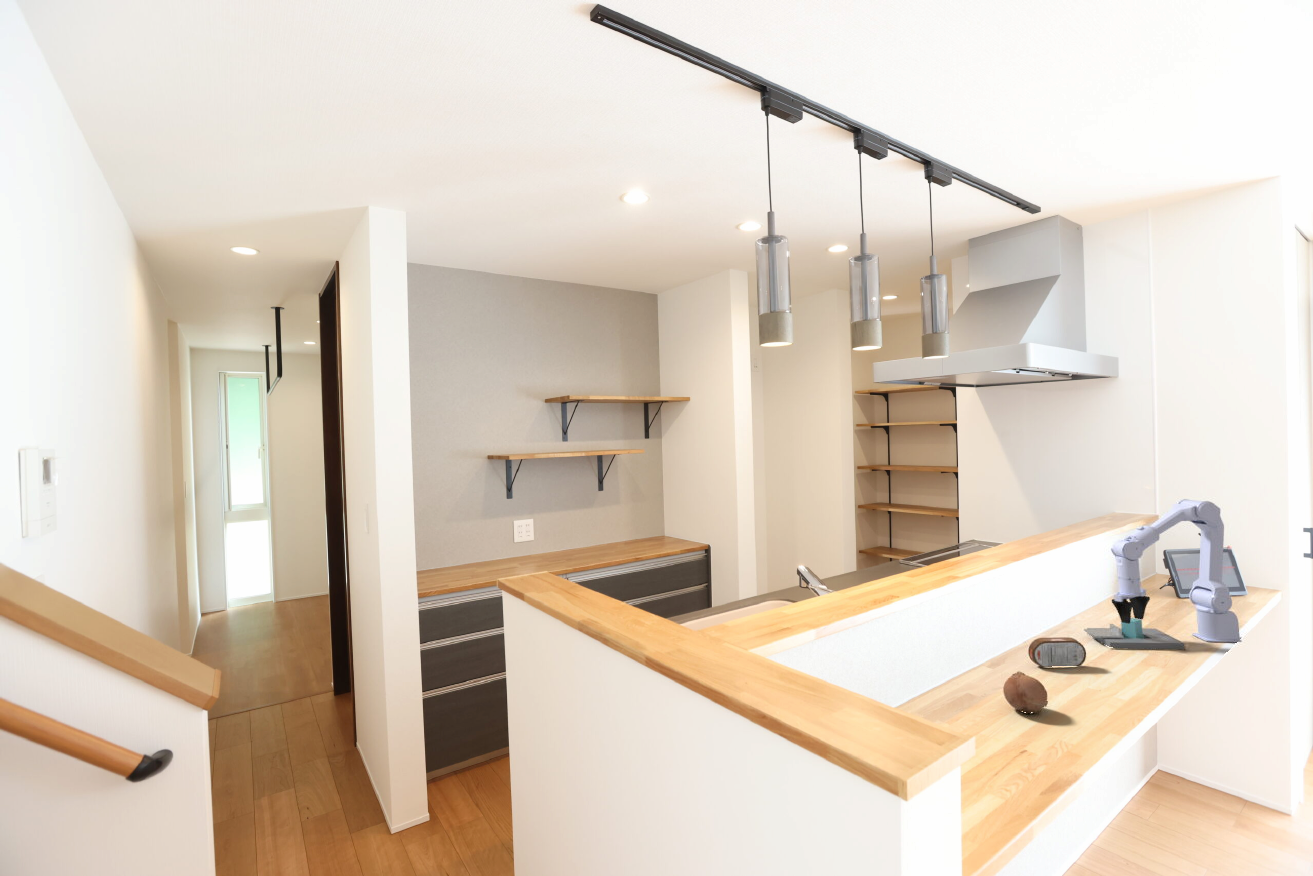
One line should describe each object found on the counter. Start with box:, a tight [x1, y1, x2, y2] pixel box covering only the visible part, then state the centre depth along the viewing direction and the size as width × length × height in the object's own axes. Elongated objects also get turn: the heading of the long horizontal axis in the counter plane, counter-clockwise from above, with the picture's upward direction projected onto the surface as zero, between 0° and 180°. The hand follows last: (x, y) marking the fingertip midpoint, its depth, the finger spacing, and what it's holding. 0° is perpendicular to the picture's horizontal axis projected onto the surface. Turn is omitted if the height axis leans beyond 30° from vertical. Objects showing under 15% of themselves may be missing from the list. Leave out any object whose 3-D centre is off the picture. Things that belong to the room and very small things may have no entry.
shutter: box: [1083, 623, 1124, 638], centre depth 203 cm, size 8×8×2 cm
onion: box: [1003, 671, 1049, 714], centre depth 155 cm, size 10×9×10 cm
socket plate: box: [1086, 627, 1186, 650], centre depth 202 cm, size 20×16×2 cm
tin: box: [1027, 636, 1087, 668], centre depth 183 cm, size 15×3×8 cm, turn 84°
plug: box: [1120, 617, 1143, 639], centre depth 202 cm, size 4×4×7 cm
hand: (1132, 620), depth 202 cm, fingers open, 7 cm apart
